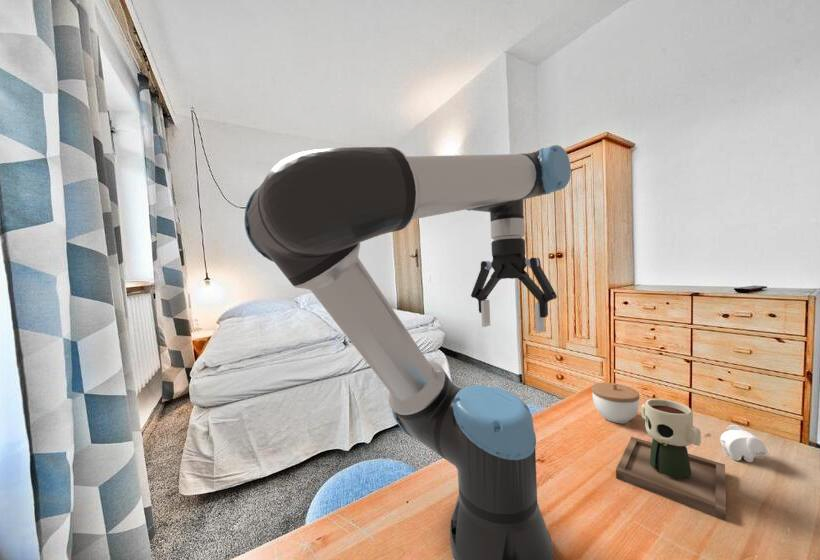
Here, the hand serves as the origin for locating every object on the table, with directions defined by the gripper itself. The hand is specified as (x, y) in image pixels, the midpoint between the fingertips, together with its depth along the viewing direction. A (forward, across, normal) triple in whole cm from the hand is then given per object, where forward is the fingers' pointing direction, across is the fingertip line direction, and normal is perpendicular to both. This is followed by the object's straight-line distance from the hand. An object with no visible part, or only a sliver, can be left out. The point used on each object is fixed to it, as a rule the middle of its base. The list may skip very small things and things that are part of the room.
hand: (511, 328), depth 71 cm
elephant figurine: (+28, -37, -26) cm, 53 cm away
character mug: (+27, -27, -10) cm, 40 cm away
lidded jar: (+28, -14, -29) cm, 43 cm away
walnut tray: (+28, -27, -10) cm, 40 cm away
